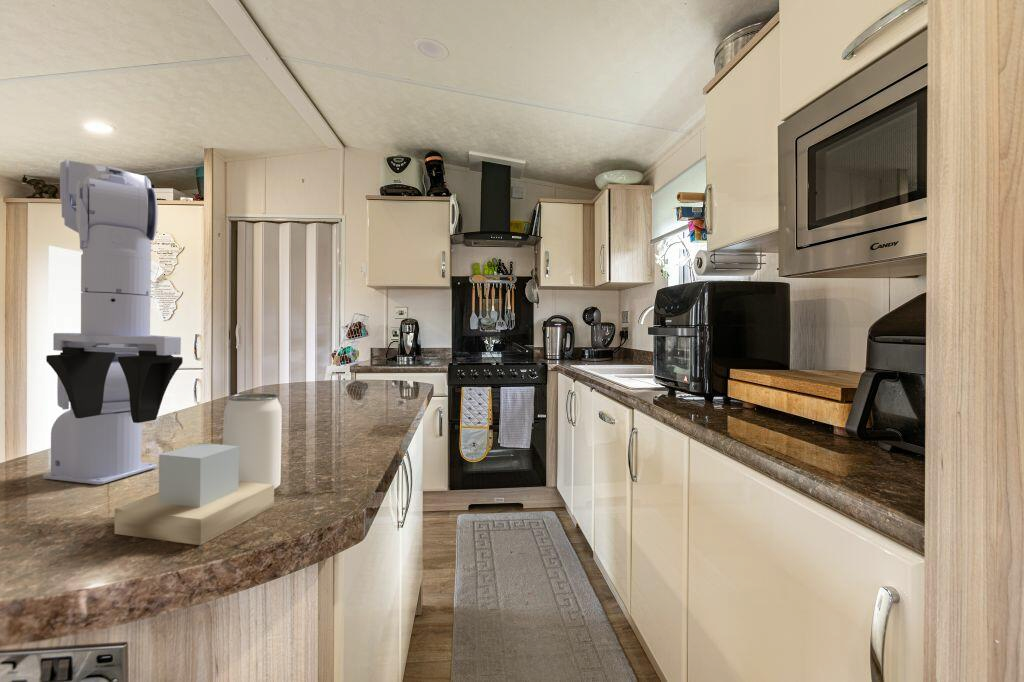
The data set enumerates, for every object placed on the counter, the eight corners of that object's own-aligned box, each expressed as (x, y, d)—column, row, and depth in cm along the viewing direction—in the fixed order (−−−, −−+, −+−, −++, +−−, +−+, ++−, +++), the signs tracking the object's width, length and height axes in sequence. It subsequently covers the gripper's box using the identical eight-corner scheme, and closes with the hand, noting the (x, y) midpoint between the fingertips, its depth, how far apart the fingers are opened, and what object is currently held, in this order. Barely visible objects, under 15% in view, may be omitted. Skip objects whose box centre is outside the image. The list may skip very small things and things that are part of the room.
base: (114, 533, 45) (114, 508, 45) (200, 497, 55) (201, 477, 55) (200, 545, 43) (200, 519, 43) (273, 505, 53) (274, 484, 53)
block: (158, 502, 47) (159, 454, 47) (200, 486, 52) (200, 442, 52) (200, 507, 46) (200, 458, 46) (238, 490, 51) (238, 446, 51)
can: (254, 501, 54) (256, 401, 54) (209, 495, 56) (210, 398, 55) (291, 483, 61) (293, 394, 60) (249, 479, 62) (251, 391, 62)
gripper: (18, 290, 47) (18, 421, 47) (135, 292, 44) (134, 431, 44) (93, 295, 54) (92, 410, 54) (198, 297, 51) (196, 417, 51)
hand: (115, 418), depth 50 cm, fingers open, 7 cm apart
